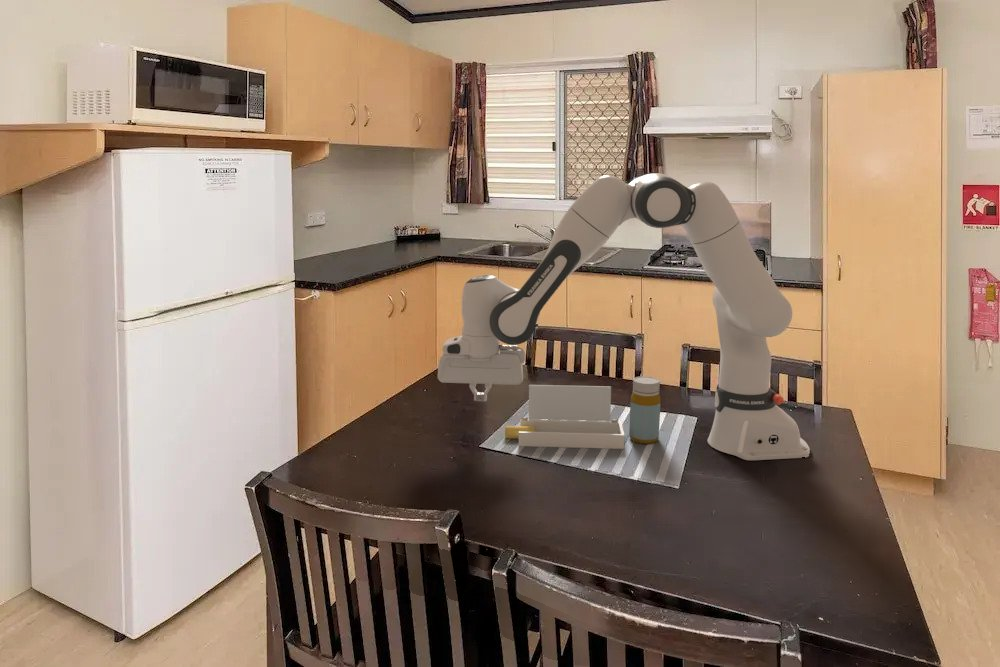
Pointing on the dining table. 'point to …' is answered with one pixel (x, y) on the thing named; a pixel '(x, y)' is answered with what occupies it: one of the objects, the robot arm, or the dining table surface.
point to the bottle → (645, 410)
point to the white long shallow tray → (572, 434)
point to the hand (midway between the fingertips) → (480, 400)
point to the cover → (570, 402)
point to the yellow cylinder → (516, 431)
